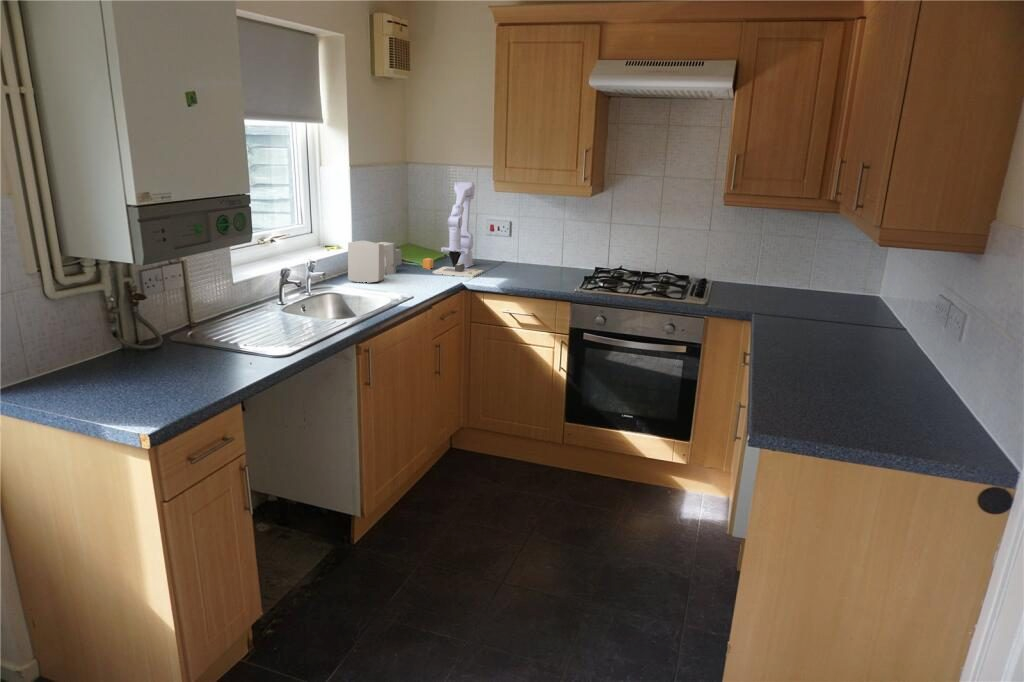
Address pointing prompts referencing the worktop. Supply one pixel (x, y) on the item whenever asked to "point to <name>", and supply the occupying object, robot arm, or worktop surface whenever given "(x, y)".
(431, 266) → the cap
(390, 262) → the circuit breaker
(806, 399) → the worktop surface
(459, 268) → the breaker lever
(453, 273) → the light wooden flat board
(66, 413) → the worktop surface
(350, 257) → the electrical switch box
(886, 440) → the worktop surface
